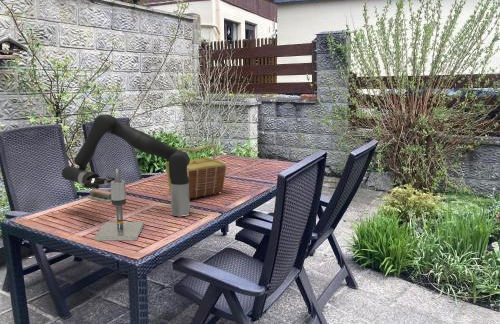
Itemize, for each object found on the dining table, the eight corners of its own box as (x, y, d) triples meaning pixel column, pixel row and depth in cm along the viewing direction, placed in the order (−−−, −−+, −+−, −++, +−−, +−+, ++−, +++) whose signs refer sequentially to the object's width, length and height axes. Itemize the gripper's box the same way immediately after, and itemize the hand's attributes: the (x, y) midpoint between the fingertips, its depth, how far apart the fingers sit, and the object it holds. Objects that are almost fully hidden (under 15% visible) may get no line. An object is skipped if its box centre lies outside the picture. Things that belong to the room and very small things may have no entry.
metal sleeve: (126, 196, 192) (125, 180, 191) (123, 200, 187) (122, 183, 185) (113, 197, 192) (112, 180, 190) (110, 200, 186) (109, 183, 185)
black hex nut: (126, 201, 193) (126, 197, 192) (124, 205, 187) (123, 201, 187) (114, 201, 192) (113, 197, 192) (110, 205, 187) (110, 201, 186)
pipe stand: (144, 225, 202) (141, 165, 196) (136, 240, 184) (133, 173, 178) (105, 226, 201) (102, 165, 195) (94, 240, 183) (90, 173, 177)
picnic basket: (186, 204, 237) (185, 152, 231) (164, 194, 257) (163, 146, 251) (228, 195, 256) (228, 147, 250) (204, 186, 275) (204, 141, 269)
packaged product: (86, 190, 246) (100, 187, 255) (86, 198, 247) (100, 195, 256) (107, 195, 237) (120, 191, 246) (107, 203, 238) (121, 199, 246)
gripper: (74, 174, 199) (91, 179, 189) (101, 169, 210) (119, 174, 199) (75, 189, 201) (92, 195, 190) (102, 184, 211) (120, 189, 201)
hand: (106, 184), depth 195 cm, fingers open, 8 cm apart
